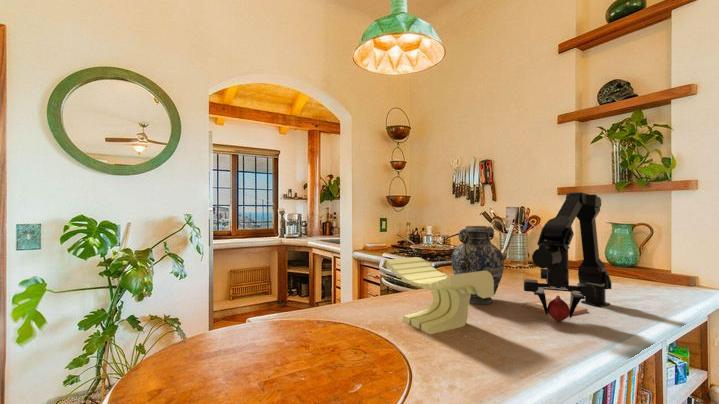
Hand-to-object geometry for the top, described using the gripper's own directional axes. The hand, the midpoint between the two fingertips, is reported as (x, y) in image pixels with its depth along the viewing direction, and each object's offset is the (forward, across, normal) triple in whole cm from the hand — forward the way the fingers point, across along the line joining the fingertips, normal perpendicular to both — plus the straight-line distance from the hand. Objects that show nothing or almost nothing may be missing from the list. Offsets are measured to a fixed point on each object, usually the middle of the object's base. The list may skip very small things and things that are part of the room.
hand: (558, 316), depth 104 cm
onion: (+2, 0, 0) cm, 2 cm away
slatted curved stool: (+2, +34, +15) cm, 37 cm away
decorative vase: (+2, +25, -16) cm, 30 cm away
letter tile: (+2, 0, -15) cm, 15 cm away
